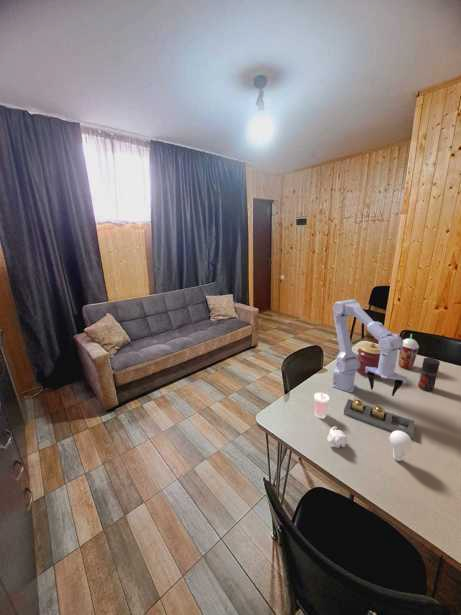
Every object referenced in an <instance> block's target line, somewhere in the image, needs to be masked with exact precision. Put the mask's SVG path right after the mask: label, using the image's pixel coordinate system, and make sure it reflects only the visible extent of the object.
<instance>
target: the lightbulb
mask: <svg viewBox="0 0 461 615" xmlns="http://www.w3.org/2000/svg"><path fill="white" fill-rule="evenodd" d="M389 441H390V442H389V443H390V444H391V446H392V457H393V459H394V460H396V461H398V462H401V461H402V460H403V457H404V455H405V454H406V452H408V451H409V450H411V448H412V446H413V440H412V439H411V438H410V437H409V436H408V434H406V433H405V432H403V431H399V430H397V431H394V432H390V434H389Z"/></svg>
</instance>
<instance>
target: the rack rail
mask: <svg viewBox="0 0 461 615" xmlns="http://www.w3.org/2000/svg"><path fill="white" fill-rule="evenodd" d="M353 401H354V399H353V400H352V399H350V398H348V399H347V401H346V404H345V406H344V408H343V415H346V416H348V417H350V418H353V419H356V420H359V421H362V422H364V423H367V424H369V425H372V426H375V427H378V428H380V429H383V430H386V431H389V432H390V433H392V432H394V431H397V430H399V431H403V432H405V433H406V434H408V436H409V437H410V438H411V441H413V439H414V435H415V420H412V419H409V418H406V417H404V416H401V415H398V414H394V413H391V412H389V411H386V410H385V412H384V418H383V419H385V420H383V421H382V420H379V419H376V418H373V417H372V416H371V415H372V410H373V407H374V406H372V405H371V406H370V405H368V404H365V403H364V409H363V414H362V413H359V412H356V411H354V410H352V403H353ZM392 422H394V423H397V424H400V425H403V426H406V427H407V428H404V427H400V426H398V425H396V424H392Z"/></svg>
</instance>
